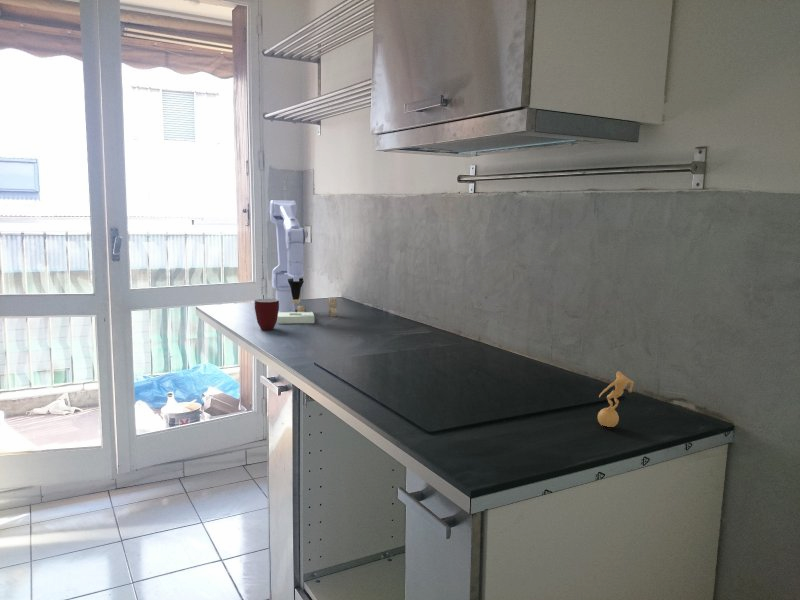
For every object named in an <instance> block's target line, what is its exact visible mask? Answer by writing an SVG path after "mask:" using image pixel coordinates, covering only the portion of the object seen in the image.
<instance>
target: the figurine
mask: <svg viewBox="0 0 800 600" xmlns="http://www.w3.org/2000/svg"><path fill="white" fill-rule="evenodd" d="M615 377H616V379H615V380H614V381H613V382H611V383H609V385H608V386H607V387H606V388H604V389H603V390H602V392H600V394H599V396H598V398H601V396H602V395H604V393H606V392H608V390H609V389H610V388H612V387H615V388H614V389H612V390H611V392H609V394H607V396H606V399H607V400H606V401H607V402H608V404H609V406H608V407H604V408H602V409H600V411H598V413H597V422H598V423H599V424H600V426H602V425H603V426H607V427H612V428H614V427H616V425H618V424H619V422H620V420H619V417H620V416H619V414H618V412H617V411H616V410H615V409H616V408H617V407H618V406H619V403H620V401H619V399H618V398H619V397H621V396H622V395H623V394H624V390H625V388H626V387H627V386H628V384H630V386H629V388H628V389H627V390H628V391H627V392H629V393H632V392H633V387H634V384H635V382H634V381H633V380H632V379H630V378H628V377H627V376H626V375H624V374H623V373H622V372H621V371H620V370H618V371H617V372H616V374H615ZM612 399H613V400H614V403H615V404H614V405H613V400H612ZM603 426H602V427H603Z"/></svg>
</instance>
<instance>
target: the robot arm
mask: <svg viewBox="0 0 800 600" xmlns="http://www.w3.org/2000/svg"><path fill="white" fill-rule="evenodd" d="M297 212H298V207H297V202H296V201H295V200H294V199H293V200H278V199H276V200H274V199H271V200H270V201H269V219H270V223H272V224H273V225H275V229H276V231H275V232H276V245H277V247H276V248H277V266H275V267H274V268H273V269H272V270H271V280H270V281H271V287H272V289H274V290H275V299H277V300H279V311H278V312H296V308H295V303H292V298H293V300H299V296H300V290H301V291H302V287H303V284H304V283H305V282H304V278H303V277H304V276H305V273H304V245H305V243H306V231H305V228H304V227H301V225H300V223H299V220H298V219H297V218H296V215H297Z"/></svg>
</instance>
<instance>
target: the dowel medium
mask: <svg viewBox="0 0 800 600" xmlns="http://www.w3.org/2000/svg"><path fill="white" fill-rule="evenodd" d="M301 291H302V289H301V290H300V296H299V300H293V298H292V303H294V305H295V304H297V305H299V304H301V301H302V300H301V297H302V296H301V295H302V293H301Z"/></svg>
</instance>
